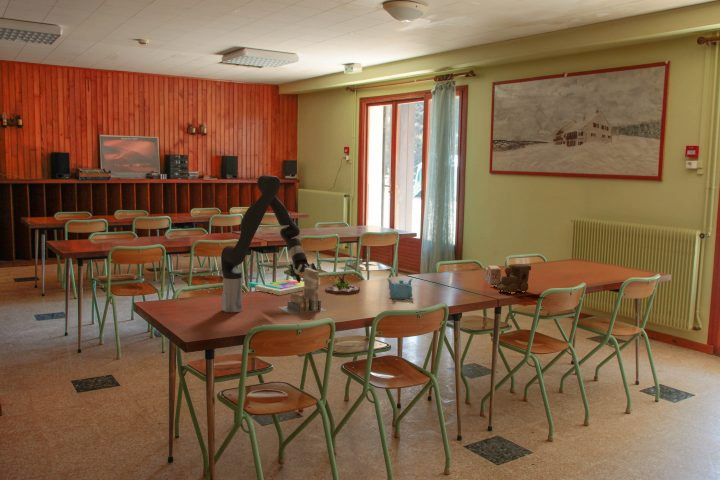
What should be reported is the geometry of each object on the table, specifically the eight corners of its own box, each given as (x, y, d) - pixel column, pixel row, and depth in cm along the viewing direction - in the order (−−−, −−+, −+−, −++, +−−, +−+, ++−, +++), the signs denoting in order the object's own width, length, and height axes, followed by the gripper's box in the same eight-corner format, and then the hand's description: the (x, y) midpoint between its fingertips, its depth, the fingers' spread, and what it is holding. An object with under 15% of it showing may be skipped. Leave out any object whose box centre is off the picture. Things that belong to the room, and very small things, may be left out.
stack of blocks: (483, 281, 436) (484, 263, 434) (493, 281, 436) (494, 263, 434) (490, 287, 414) (491, 268, 413) (500, 287, 414) (501, 268, 413)
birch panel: (313, 310, 333) (314, 271, 330) (303, 305, 343) (304, 268, 341) (317, 310, 334) (318, 271, 331) (308, 305, 344) (308, 267, 342)
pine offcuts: (300, 311, 329) (300, 298, 328) (290, 306, 340) (291, 293, 339) (308, 310, 332) (309, 297, 331) (299, 305, 342) (299, 292, 341)
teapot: (414, 300, 369) (415, 283, 368) (388, 300, 369) (388, 282, 368) (411, 295, 384) (412, 278, 383) (386, 294, 383) (386, 277, 382)
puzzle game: (315, 288, 397) (281, 281, 415) (315, 284, 396) (281, 277, 415) (279, 296, 374) (245, 288, 392) (279, 291, 373) (245, 283, 392)
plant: (352, 296, 378) (353, 277, 376) (321, 293, 384) (321, 274, 382) (363, 290, 396) (364, 271, 395) (333, 287, 403) (333, 269, 401)
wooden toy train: (516, 289, 412) (518, 263, 410) (531, 292, 403) (532, 265, 400) (494, 292, 400) (496, 265, 398) (508, 295, 391) (510, 268, 389)
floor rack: (290, 316, 325) (290, 304, 324) (277, 309, 338) (278, 297, 338) (326, 313, 334) (326, 300, 333) (312, 306, 348) (313, 294, 347)
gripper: (288, 252, 344) (296, 277, 335) (312, 251, 351) (321, 276, 342) (283, 261, 349) (292, 286, 341) (308, 259, 356) (316, 284, 348)
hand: (307, 281), depth 342 cm, fingers open, 8 cm apart
